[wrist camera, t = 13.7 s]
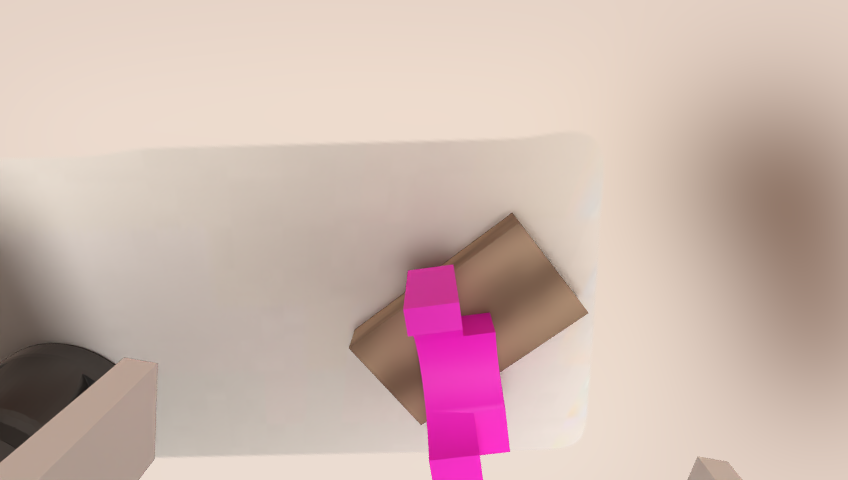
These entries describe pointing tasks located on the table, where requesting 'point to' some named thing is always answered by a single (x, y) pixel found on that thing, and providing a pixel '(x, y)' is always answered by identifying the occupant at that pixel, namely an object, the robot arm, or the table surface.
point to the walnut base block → (477, 310)
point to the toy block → (455, 375)
